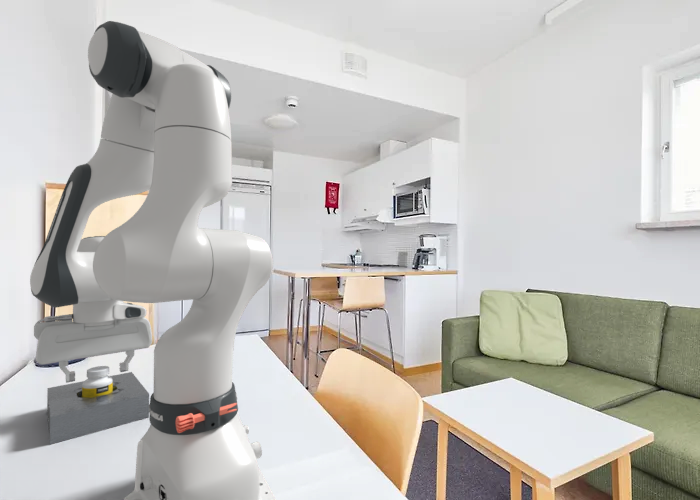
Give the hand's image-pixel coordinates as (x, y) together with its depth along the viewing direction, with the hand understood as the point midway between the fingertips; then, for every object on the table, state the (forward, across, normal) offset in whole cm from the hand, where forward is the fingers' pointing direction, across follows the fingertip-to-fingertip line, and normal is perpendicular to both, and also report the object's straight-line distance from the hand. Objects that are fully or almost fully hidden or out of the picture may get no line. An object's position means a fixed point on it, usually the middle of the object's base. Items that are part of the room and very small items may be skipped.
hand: (98, 376), depth 76 cm
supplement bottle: (+8, 0, +1) cm, 9 cm away
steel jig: (+8, 0, +1) cm, 8 cm away
